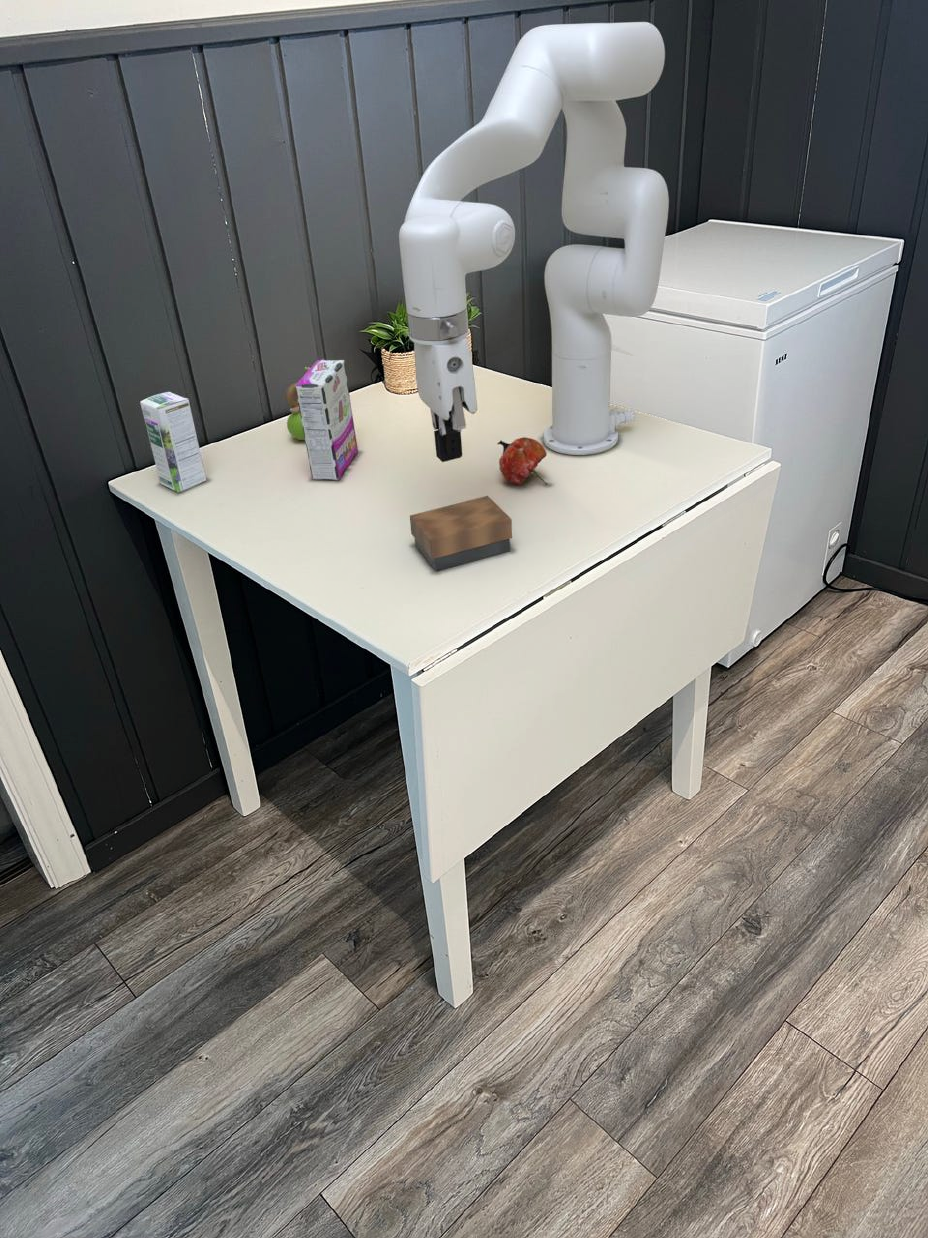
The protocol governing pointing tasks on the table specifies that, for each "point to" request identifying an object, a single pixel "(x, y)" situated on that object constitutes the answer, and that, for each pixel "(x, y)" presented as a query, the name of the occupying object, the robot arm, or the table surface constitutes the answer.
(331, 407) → the candy bar box
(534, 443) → the pomegranate
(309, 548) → the table surface
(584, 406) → the robot arm
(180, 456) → the syrup box
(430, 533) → the brush
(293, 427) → the snail figurine
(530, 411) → the table surface
